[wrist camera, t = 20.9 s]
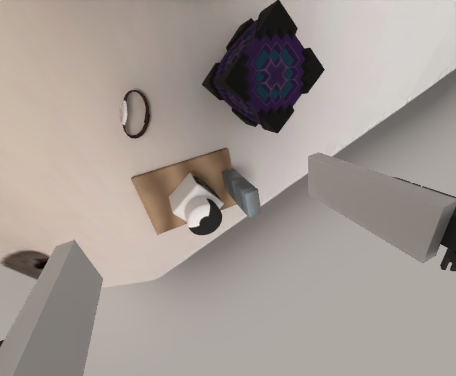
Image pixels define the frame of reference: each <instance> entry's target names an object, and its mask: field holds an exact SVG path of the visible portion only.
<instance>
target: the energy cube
mask: <svg viewBox="0 0 456 376" xmlns="http://www.w3.org/2000/svg"><path fill="white" fill-rule="evenodd" d="M296 31H297V27H296V25H295V24H294V22H293V21H292V19H291V18H290V16H289V14H288V13H287V11H286V10H285V8H284V7H283V5H282V4H281V2H280V1H279V0H277V1H276V2H274V3H273V4H271V5H270V6H268V7H267V8H265V9H264V10H263V11H262V12H261V13H260V15H259V17H258V20H256V21H255V22H254V21H253V19H252V18H251V19H249V20H248V21H246V22H245V23H243V24H242V25H241V26H240V27H239V29H238V30H237V32H236V33H235V35H234V36H233V38H232V39H231V41H230V42H229V44H228V45H227V47H226V48H227V53H226V54H225V56H224V57H223V59H222V60H221V62H220V63H216V64H215V65H214V67H213V68H212V70H211V71H210V73H209V74H208V76H207V77H206V79H205V80H204V82H203V83H202V85H203V86H204V87H205V88H207V89H208V90H209V91H210V92H211V93H212V94H213V95H214V96H216V97H217V98H218V99H219V100H224V101H226V102H227V103H228V104H229V105H230V106H231V107H232V112H233V113H235V114H236V115H237V116H238V117H239V118H240V119H241V120H242V121H244V122H245V123H246V124H248V125H251V126H255V127H256V126H257V125H258V124H260V125H261V126H262V128H264V129H265V130H268V131H271V132H275V133H279V131H280V130H281V128H282V127H283V126H284V124H285V123H286V122H287V120H288V119H289V118H290V116H291V115H292V114H293V112H294V109H293V105H294V104H295V103H296V101H297V100H298V98H299V97H300V96H301V94H305V93H308V92H309V90H310V89H311V88H312V86H313V85H314V84H315V82H316V81H317V79H318V78H319V77H320V75H321V74H322V73H323V71H324V70H325V69H324V68H323V66H322V65H321V63H320V62H319V60H318V59H317V57H316V56H315V54H314V53H313V51H312V50H311V48H305V49H304V47H303V46H302V45H301V43H300V42H299V40H298V39H297V37H296V36H295V34H296Z"/></svg>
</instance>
